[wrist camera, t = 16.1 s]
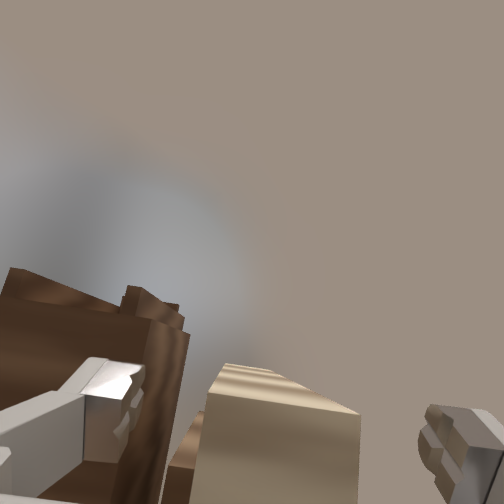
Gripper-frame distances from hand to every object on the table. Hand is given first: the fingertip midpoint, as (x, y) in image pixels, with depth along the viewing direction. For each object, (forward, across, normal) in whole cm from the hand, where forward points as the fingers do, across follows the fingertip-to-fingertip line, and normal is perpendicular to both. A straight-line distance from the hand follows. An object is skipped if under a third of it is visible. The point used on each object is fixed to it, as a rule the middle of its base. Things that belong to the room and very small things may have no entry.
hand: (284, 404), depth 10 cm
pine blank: (+7, 0, +8) cm, 11 cm away
